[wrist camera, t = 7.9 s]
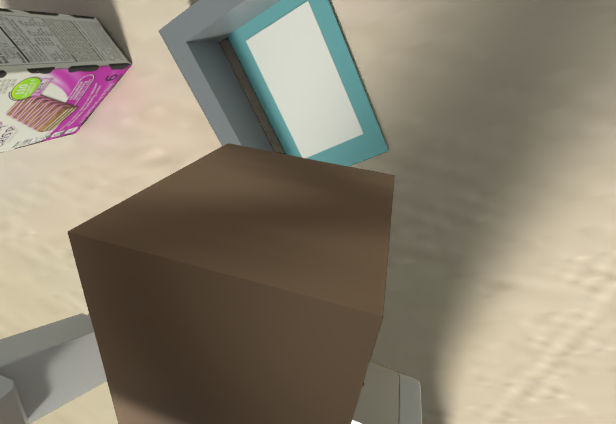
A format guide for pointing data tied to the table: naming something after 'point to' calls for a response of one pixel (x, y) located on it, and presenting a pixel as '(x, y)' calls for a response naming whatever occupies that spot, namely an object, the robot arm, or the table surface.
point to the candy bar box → (52, 74)
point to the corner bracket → (277, 77)
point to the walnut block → (239, 290)
